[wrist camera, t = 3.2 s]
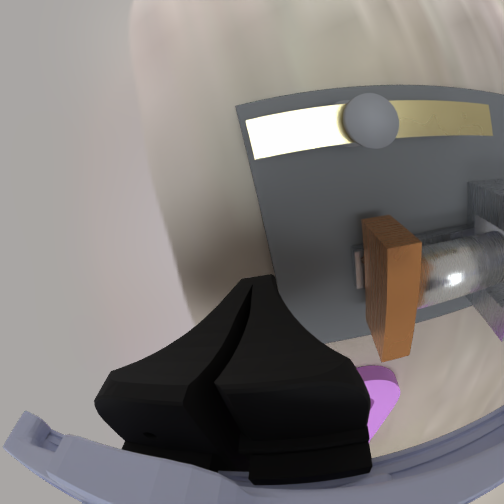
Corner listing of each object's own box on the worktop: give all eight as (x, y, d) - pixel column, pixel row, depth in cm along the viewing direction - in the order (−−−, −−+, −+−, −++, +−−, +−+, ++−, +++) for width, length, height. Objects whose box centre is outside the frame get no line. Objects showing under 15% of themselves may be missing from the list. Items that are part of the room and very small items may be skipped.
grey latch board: (519, 99, 7) (564, 102, 4) (513, 285, 12) (543, 315, 8) (236, 107, 10) (216, 93, 6) (290, 343, 14) (292, 398, 11)
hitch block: (526, 174, 9) (584, 199, 4) (517, 265, 11) (561, 305, 7) (343, 196, 11) (385, 240, 6) (352, 311, 13) (377, 386, 9)
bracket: (354, 446, 20) (360, 505, 14) (298, 449, 21) (297, 512, 14) (406, 360, 15) (438, 447, 8) (326, 365, 15) (339, 467, 9)
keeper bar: (465, 105, 7) (488, 104, 6) (469, 132, 8) (493, 135, 6) (250, 123, 9) (245, 120, 7) (258, 155, 9) (255, 159, 8)
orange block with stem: (486, 198, 9) (526, 219, 6) (476, 288, 10) (504, 319, 8) (360, 218, 10) (387, 249, 7) (365, 318, 12) (381, 362, 9)
